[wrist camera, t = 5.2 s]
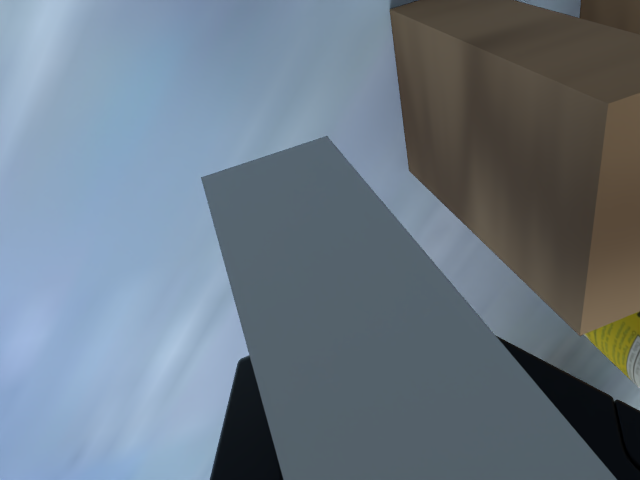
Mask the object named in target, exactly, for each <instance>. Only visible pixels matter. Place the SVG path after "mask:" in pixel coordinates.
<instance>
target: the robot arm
mask: <svg viewBox="0 0 640 480" xmlns="http://www.w3.org/2000/svg"><path fill="white" fill-rule="evenodd" d="M496 337H497V336H496ZM497 338H498V339H499V340H500V342H501V343H502V344H503V345H504V346H505V348H506V349H507V350H508V351H509V352H510V353H511V355H512V356H513V357H514V358H515V359H516V361H517V362H518V363H519V364H520V365H521V367H522V368H523V369H524V370H525V371H526V372H527V374H528V375H529V376H530V377H531V378H532V380H533V381H534V382H535V383H536V384H537V385H538V387H539V388H540V389H541V390H542V391H543V393H544V394H545V395H546V396H547V397H548V399H549V400H550V401H551V402H552V403H553V404H554V406H555V407H556V408H557V409H558V410H559V412H560V413H561V414H562V415H563V416H564V417H565V419H566V420H567V421H568V422H569V423H570V425H571V426H572V427H573V428H574V429H575V430H576V432H577V433H578V434H579V435H580V436H581V438H582V439H583V440H584V441H585V442H586V444H587V445H588V446H589V447H590V448H591V449H592V451H593V452H594V453H595V454H596V455H597V457H598V458H599V459H600V460H601V461H602V462H603V464H604V465H605V466H606V467H607V468H608V470H609V471H610V472H611V473H612V474H613V476H614V477H615V478H616V479H617V480H640V411H639V410H637V409H635V408H633V407H631V406H629V405H628V404H626V403H624V402H622V401H620V400H615V401H614V400H613V397H612V396H610V395H608V394H606V393H604V392H602V391H600V390H598V389H597V388H595V387H593V386H591V385H589V384H587V383H585V382H583V381H581V380H579V379H577V378H576V377H574V376H572V375H570V374H568V373H566V372H564V371H562V370H560V369H558V368H556V367H554V366H553V365H551V364H549V363H547V362H545V361H543V360H541V359H539V358H537V357H535V356H533V355H532V354H530V353H528V352H526V351H524V350H522V349H520V348H518V347H516V346H514V345H512V344H511V343H509V342H507V341H505V340H503V339H501V338H499V337H497ZM210 480H284V479H283V476H282V472H281V468H280V465H279V461H278V457H277V454H276V450H275V446H274V443H273V439H272V435H271V432H270V428H269V424H268V421H267V417H266V413H265V410H264V406H263V402H262V399H261V395H260V392H259V388H258V384H257V381H256V377H255V373H254V370H253V366H252V362H251V359H250V355H249V356H247V357H244V358H242V359H240V360H239V362H238V364H237V368H236V372H235V377H234V381H233V385H232V389H231V393H230V397H229V402H228V406H227V410H226V414H225V418H224V422H223V427H222V431H221V435H220V439H219V443H218V447H217V452H216V456H215V460H214V464H213V468H212V473H211V477H210Z"/></svg>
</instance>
